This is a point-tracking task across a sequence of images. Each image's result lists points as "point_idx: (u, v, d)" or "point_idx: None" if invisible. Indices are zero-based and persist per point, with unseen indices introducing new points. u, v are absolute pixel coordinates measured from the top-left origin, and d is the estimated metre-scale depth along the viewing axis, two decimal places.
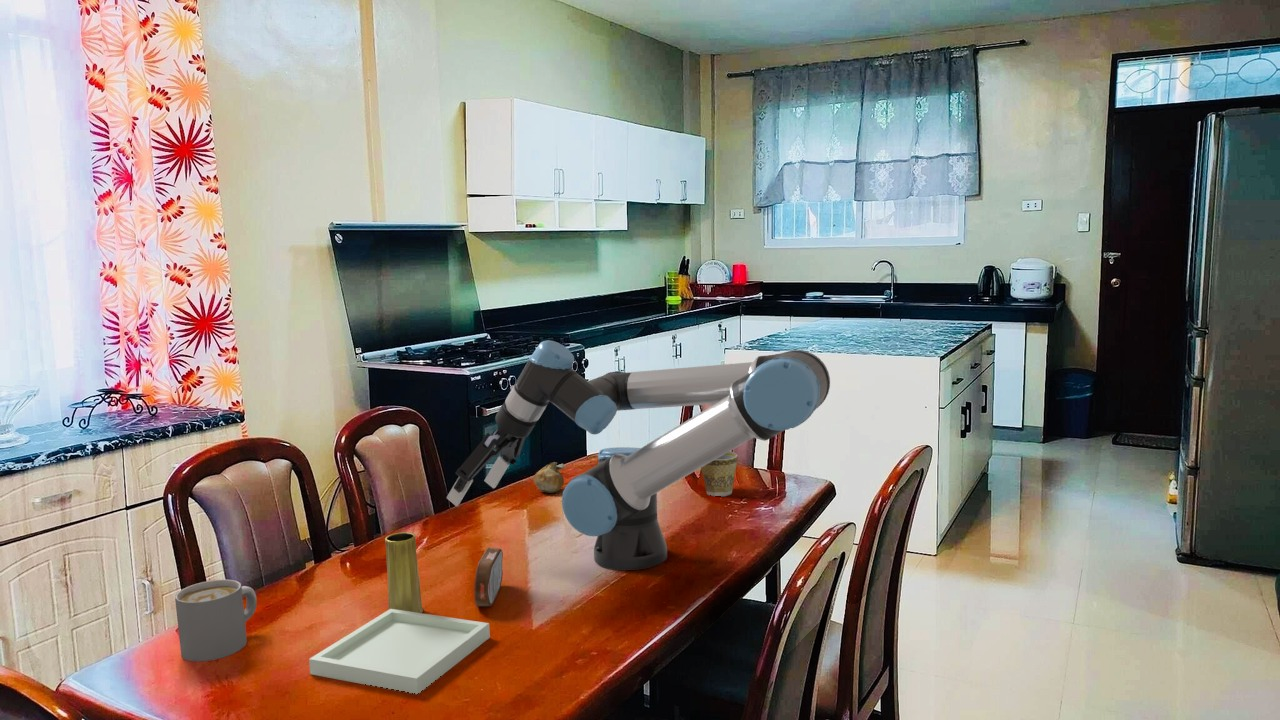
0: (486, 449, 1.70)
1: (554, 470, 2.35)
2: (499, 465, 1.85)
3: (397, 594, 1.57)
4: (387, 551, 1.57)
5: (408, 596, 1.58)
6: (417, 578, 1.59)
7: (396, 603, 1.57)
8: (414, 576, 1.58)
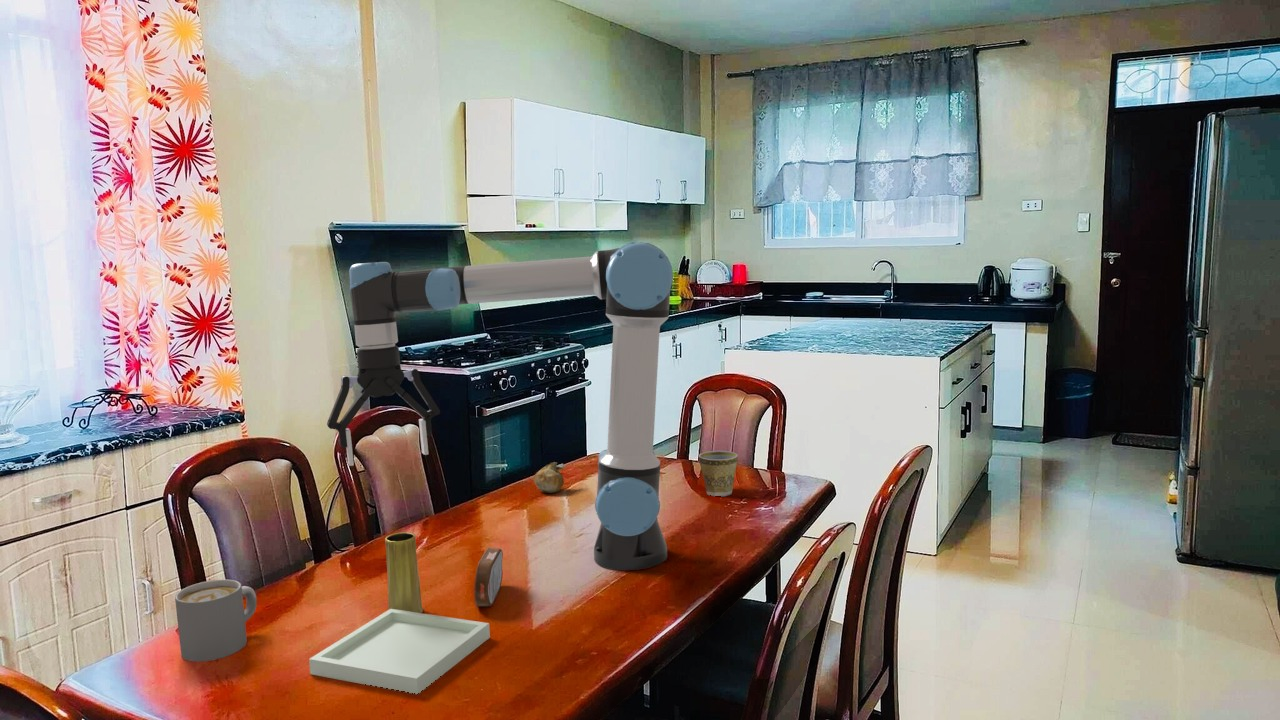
0: (341, 389, 1.62)
1: (554, 470, 2.35)
2: (420, 426, 1.69)
3: (397, 594, 1.57)
4: (387, 551, 1.57)
5: (408, 596, 1.58)
6: (417, 578, 1.59)
7: (396, 603, 1.57)
8: (414, 576, 1.58)
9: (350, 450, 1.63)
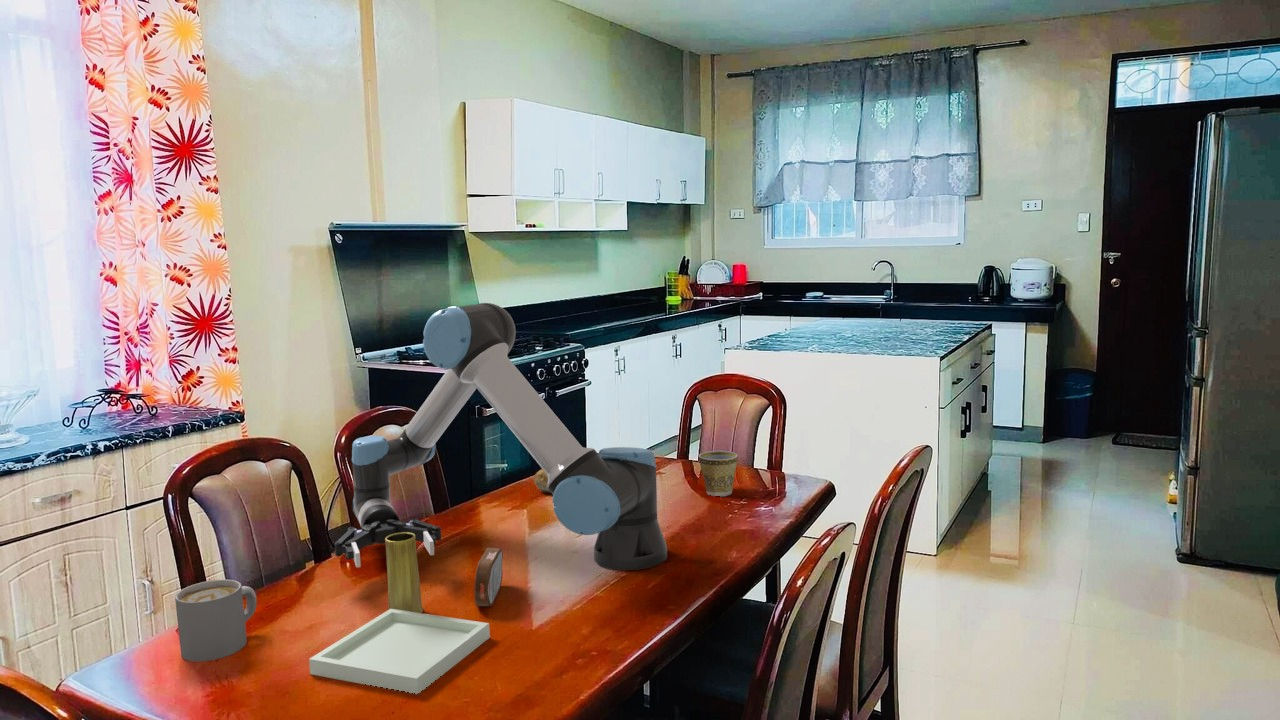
0: None
1: None
2: (424, 541, 1.75)
3: (397, 594, 1.57)
4: (387, 551, 1.57)
5: (408, 596, 1.58)
6: (417, 578, 1.59)
7: (396, 603, 1.57)
8: (414, 576, 1.58)
9: (356, 548, 1.68)
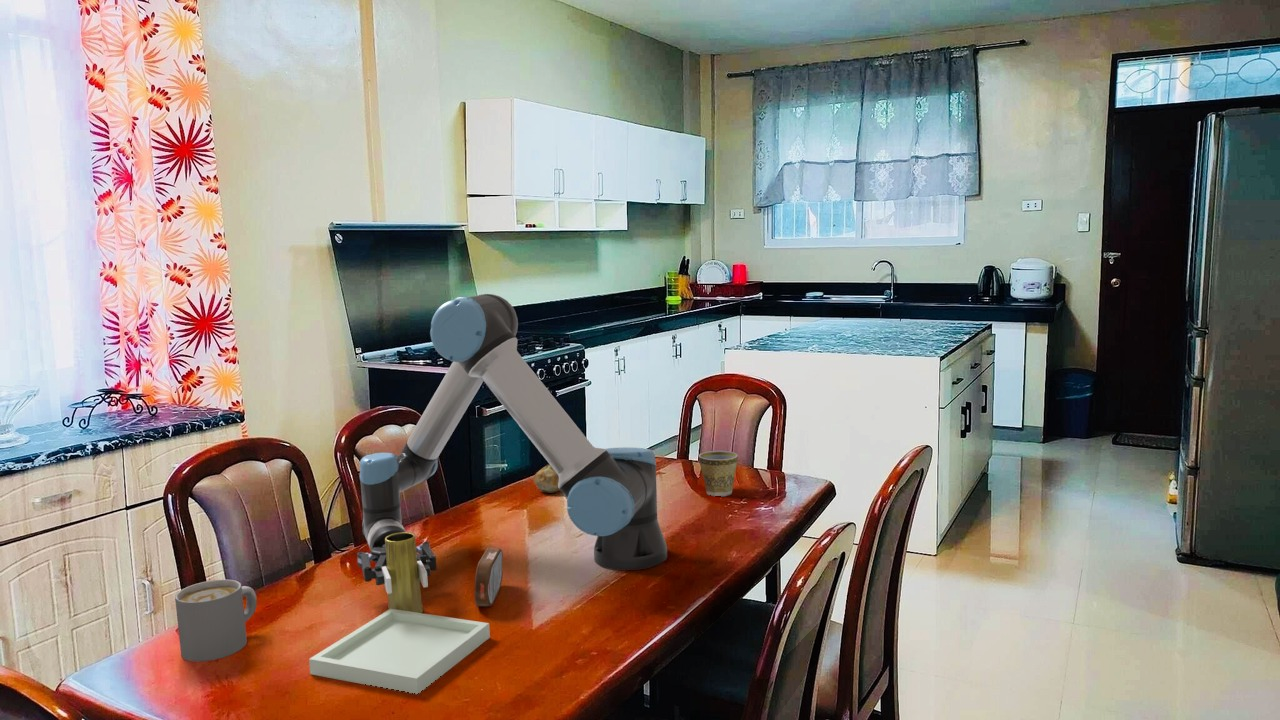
0: (361, 559, 1.65)
1: (554, 470, 2.35)
2: (418, 571, 1.60)
3: (397, 594, 1.57)
4: (387, 551, 1.57)
5: (408, 596, 1.58)
6: (417, 578, 1.59)
7: (396, 603, 1.57)
8: (414, 576, 1.58)
9: (386, 573, 1.56)
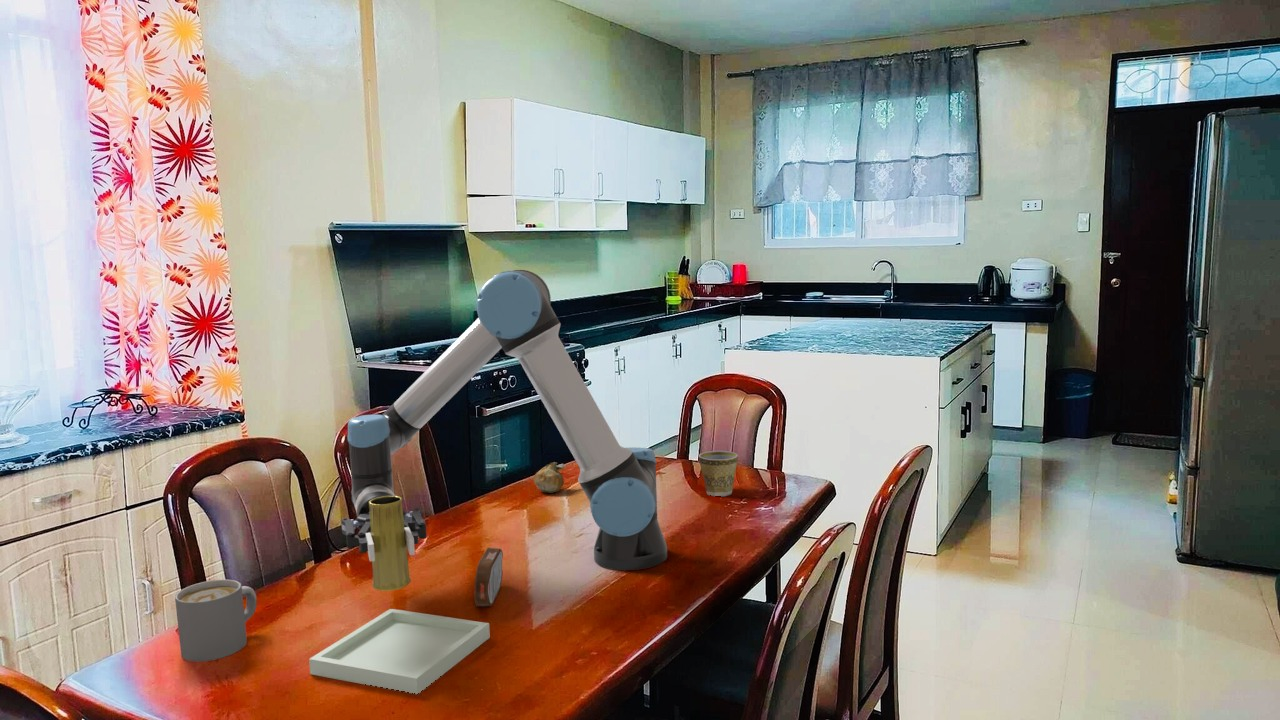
0: (345, 526, 1.52)
1: (554, 470, 2.35)
2: (405, 538, 1.46)
3: (382, 563, 1.43)
4: (371, 515, 1.44)
5: (394, 565, 1.44)
6: (403, 546, 1.45)
7: (380, 572, 1.43)
8: (400, 543, 1.44)
9: (370, 539, 1.42)
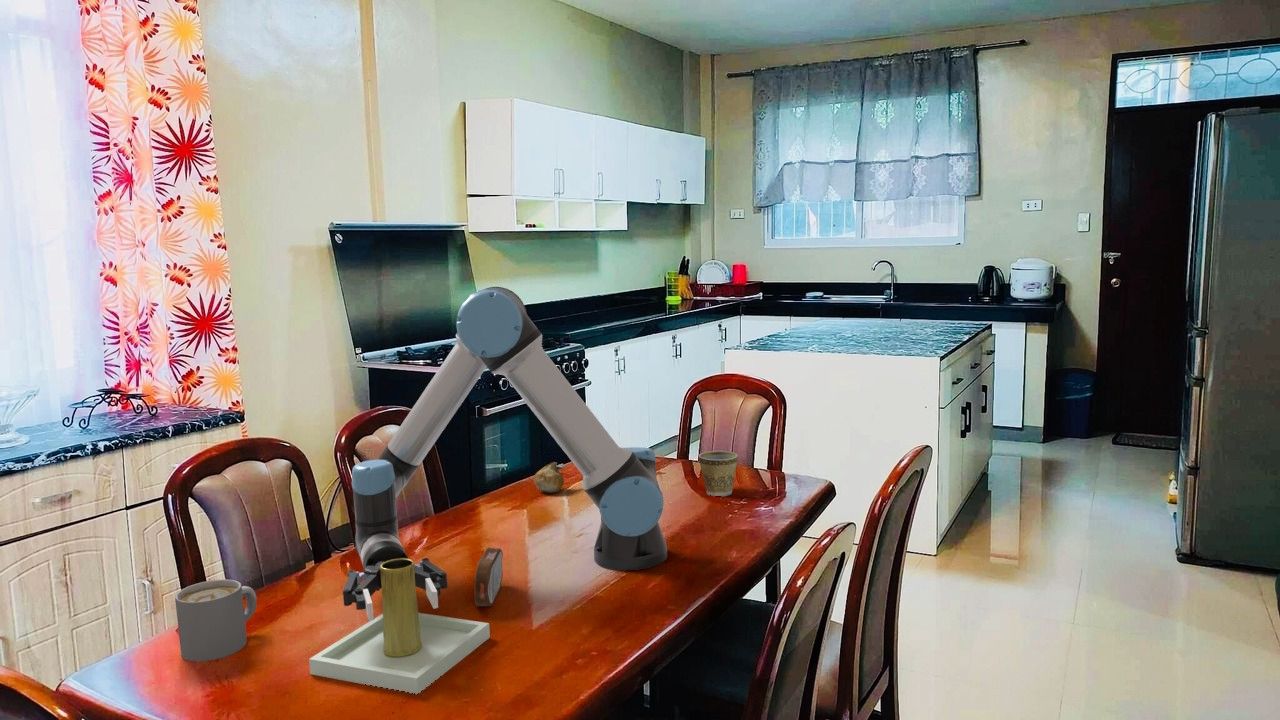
0: None
1: (554, 470, 2.35)
2: (427, 590, 1.45)
3: (394, 629, 1.40)
4: (382, 580, 1.41)
5: (406, 631, 1.41)
6: (415, 610, 1.42)
7: (392, 638, 1.41)
8: (412, 608, 1.42)
9: (368, 596, 1.39)
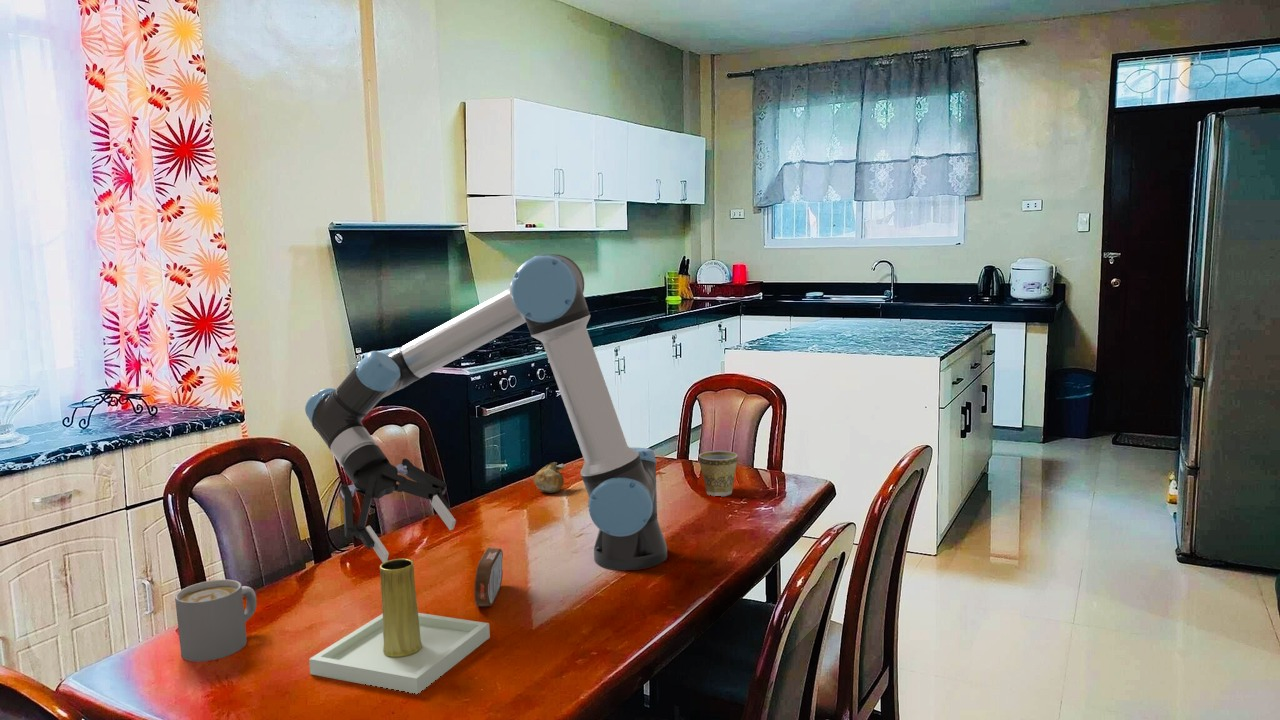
0: (344, 498, 1.59)
1: (554, 470, 2.35)
2: (435, 506, 1.65)
3: (393, 629, 1.40)
4: (382, 580, 1.41)
5: (406, 631, 1.41)
6: (415, 611, 1.42)
7: (391, 639, 1.41)
8: (412, 608, 1.42)
9: (378, 541, 1.54)
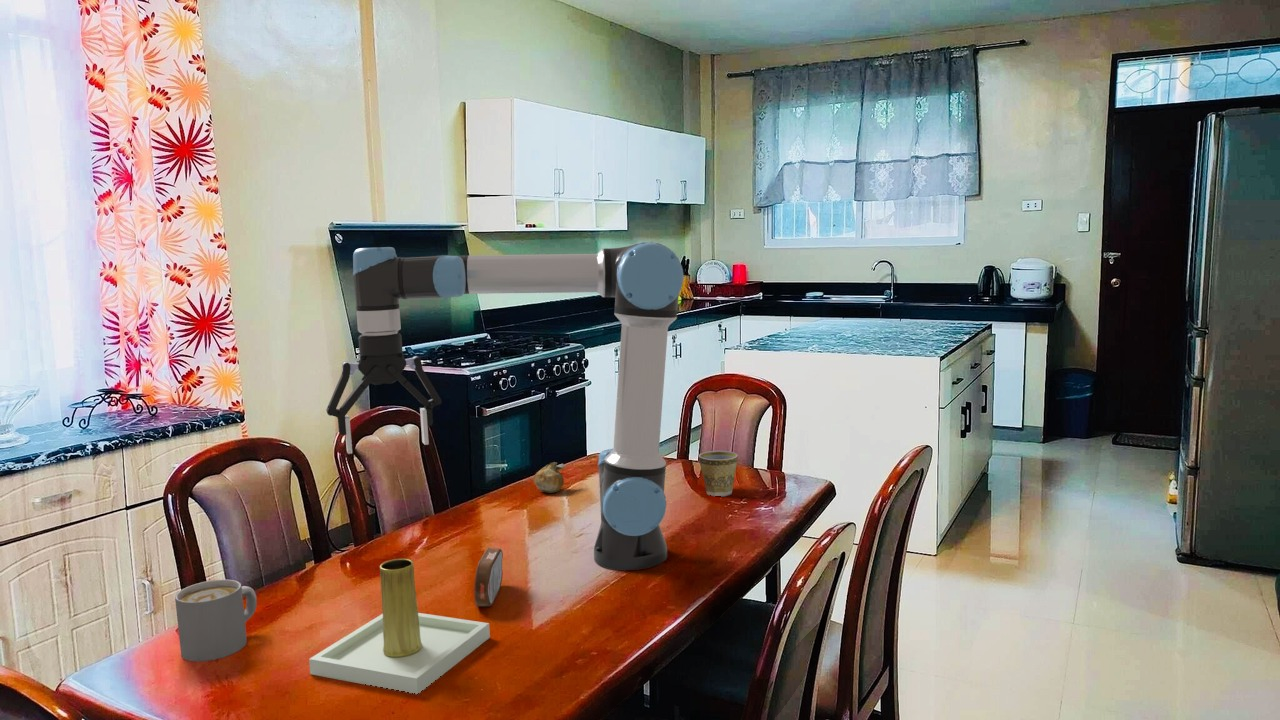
0: (342, 376, 1.59)
1: (554, 470, 2.35)
2: (421, 416, 1.66)
3: (393, 629, 1.40)
4: (382, 580, 1.41)
5: (406, 631, 1.41)
6: (415, 611, 1.42)
7: (391, 639, 1.41)
8: (412, 608, 1.41)
9: (349, 438, 1.60)
